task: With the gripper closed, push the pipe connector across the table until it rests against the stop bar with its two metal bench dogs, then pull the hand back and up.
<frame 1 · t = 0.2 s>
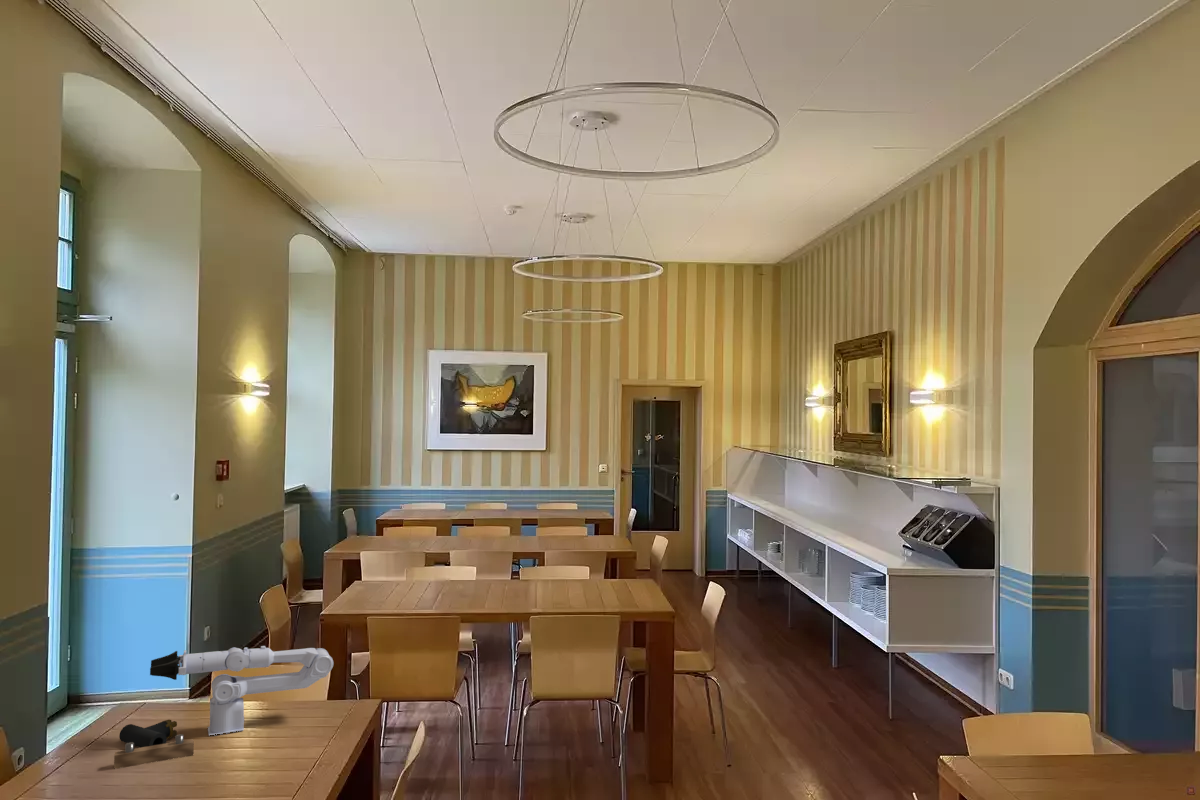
hand: (150, 667, 238), 21 cm above the table, tool horizontal, fingers open, 7 cm apart
pipe connector: (153, 743, 237), on the table
stop bar: (154, 760, 223), on the table
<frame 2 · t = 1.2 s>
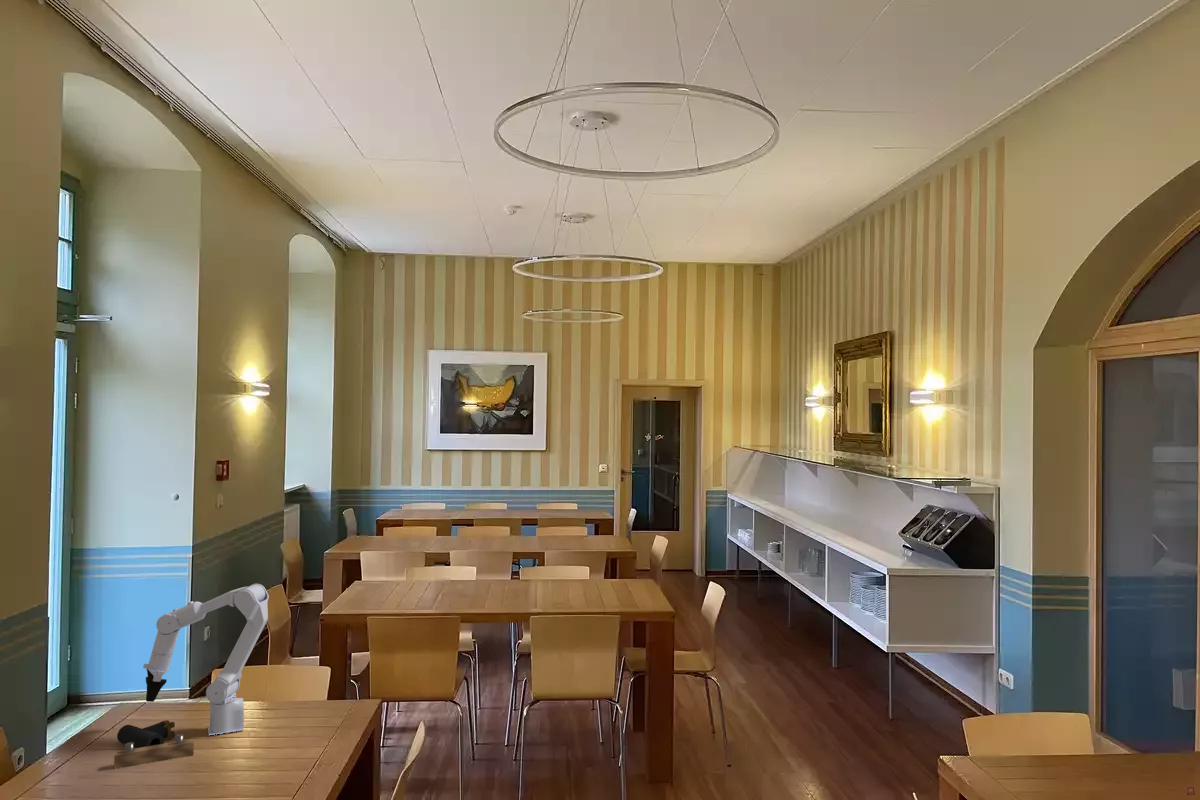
hand: (150, 695, 246), 10 cm above the table, tool tilted 15°, fingers open, 7 cm apart
nothing on the table moved.
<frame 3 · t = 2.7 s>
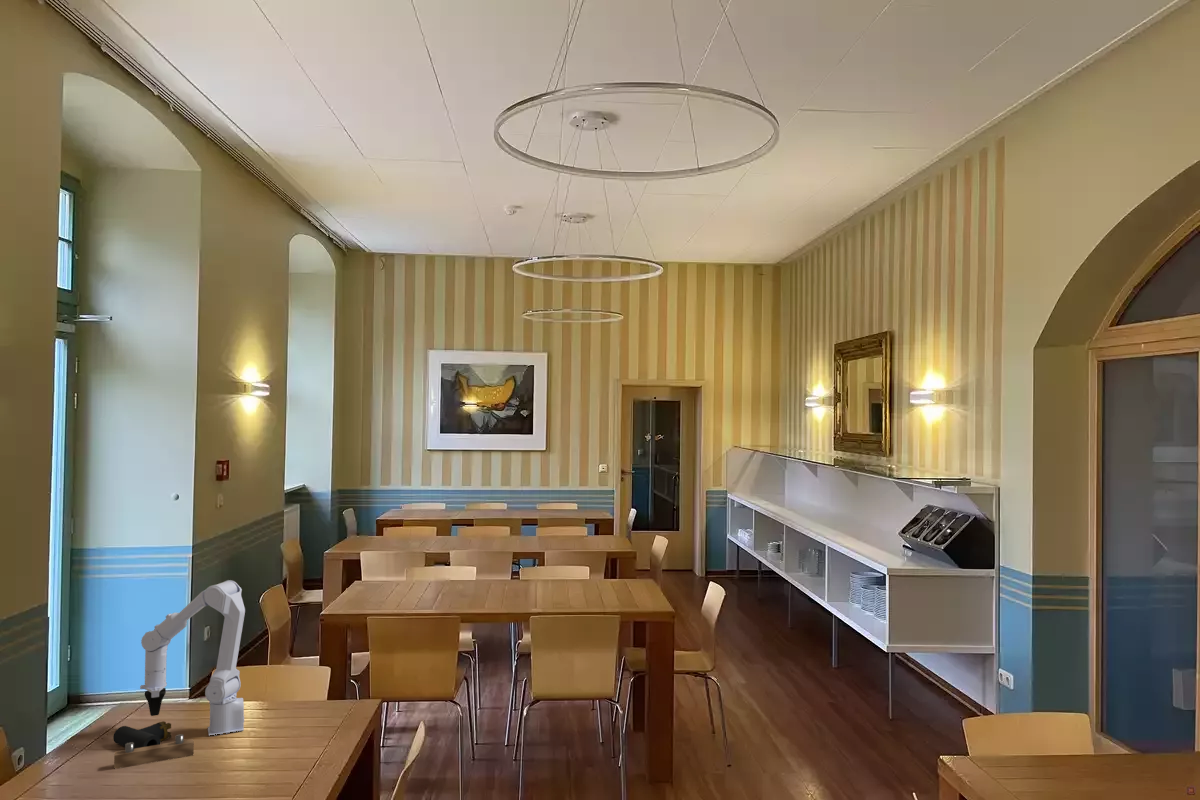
hand: (154, 714, 248), 4 cm above the table, tool pointing down, fingers closed
pipe connector: (147, 745, 235), on the table
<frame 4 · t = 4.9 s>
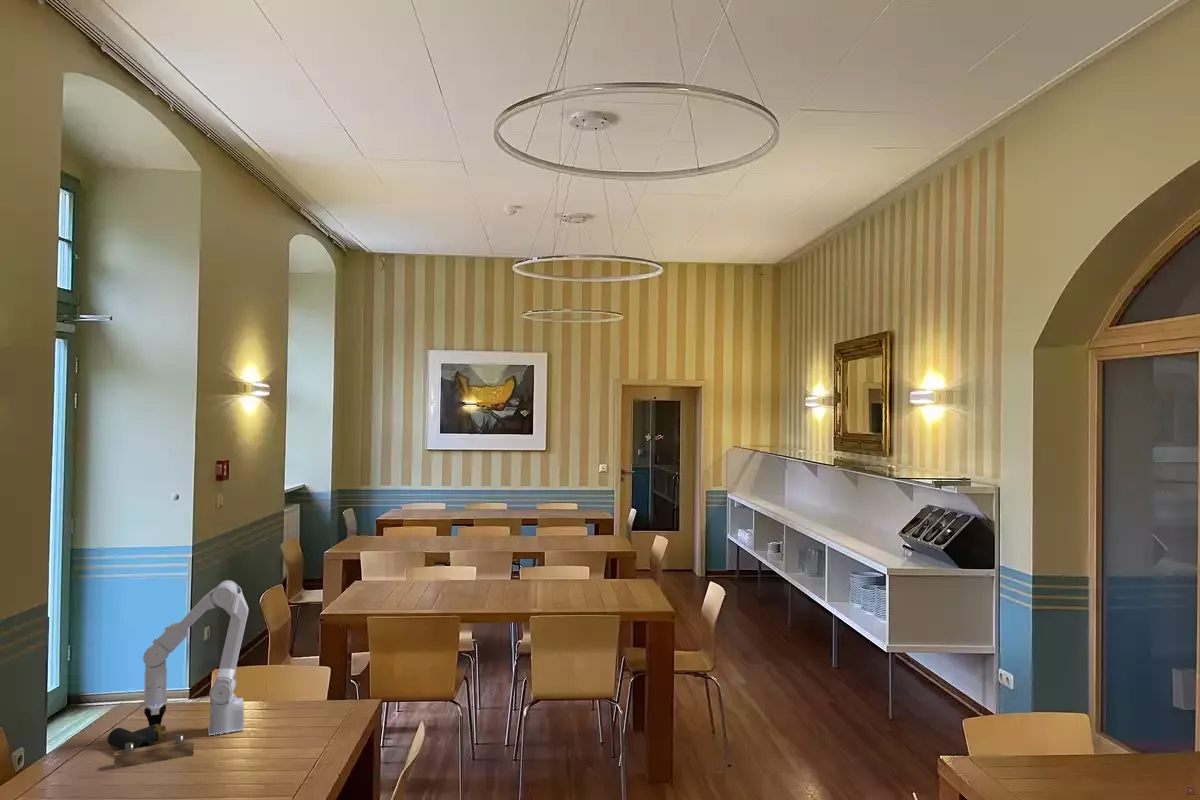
hand: (154, 732, 240), 1 cm above the table, tool pointing down, fingers closed
pipe connector: (141, 748, 233), on the table, touching gripper
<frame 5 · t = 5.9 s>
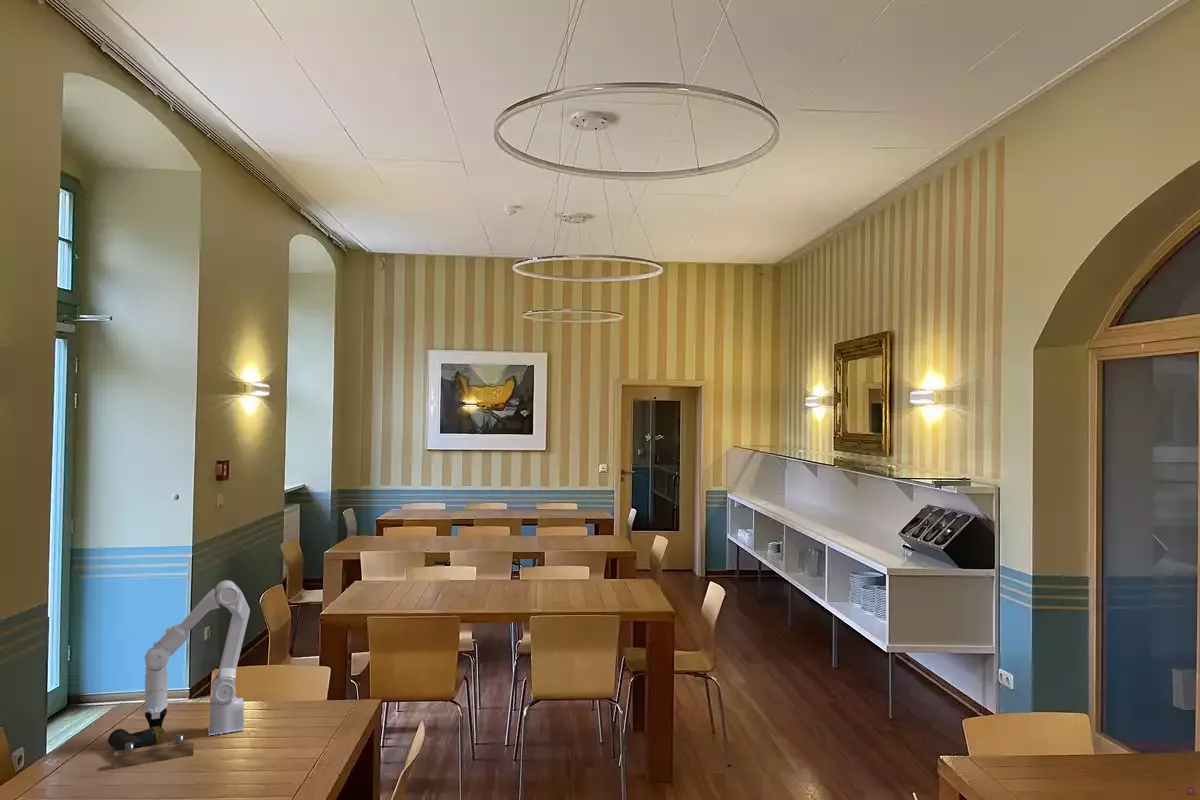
hand: (155, 736, 237), 1 cm above the table, tool pointing down, fingers closed, pressing on pipe connector
pipe connector: (139, 750, 231), on the table, touching gripper, stop bar
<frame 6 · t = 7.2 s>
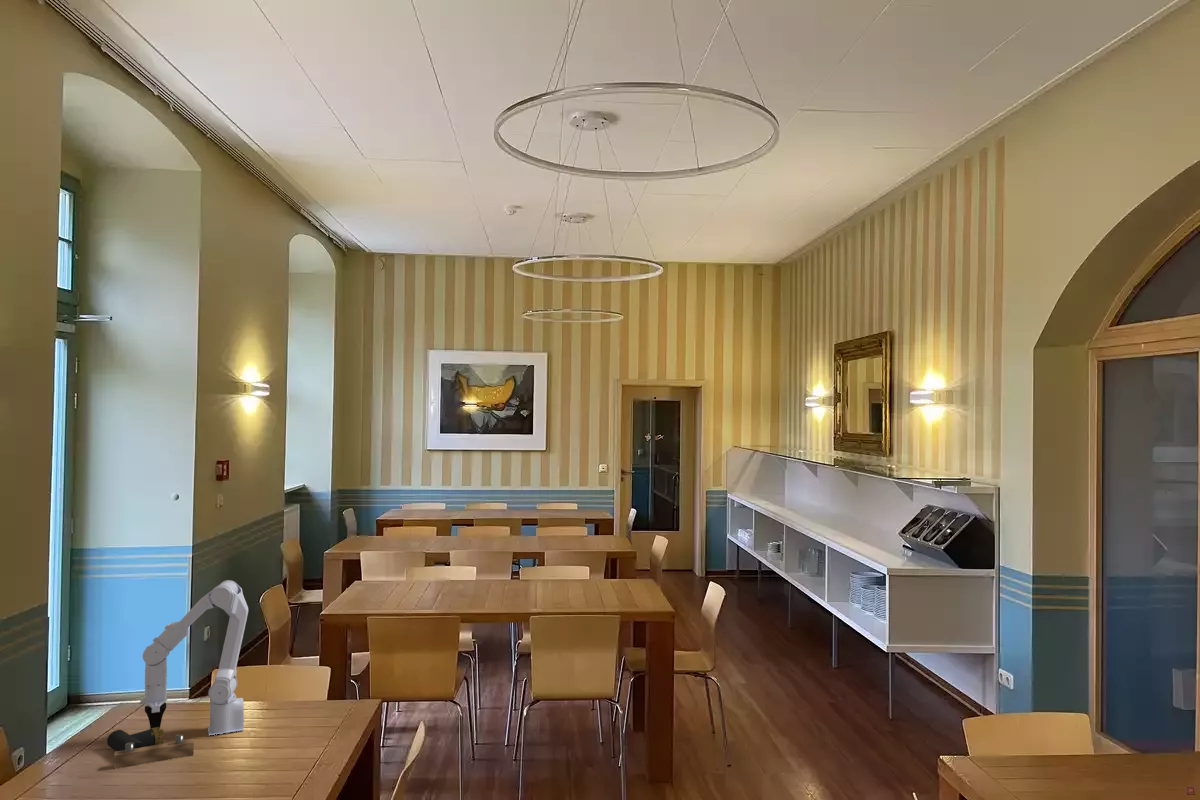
hand: (155, 730, 242), 2 cm above the table, tool pointing down, fingers closed
pipe connector: (139, 751, 231), on the table
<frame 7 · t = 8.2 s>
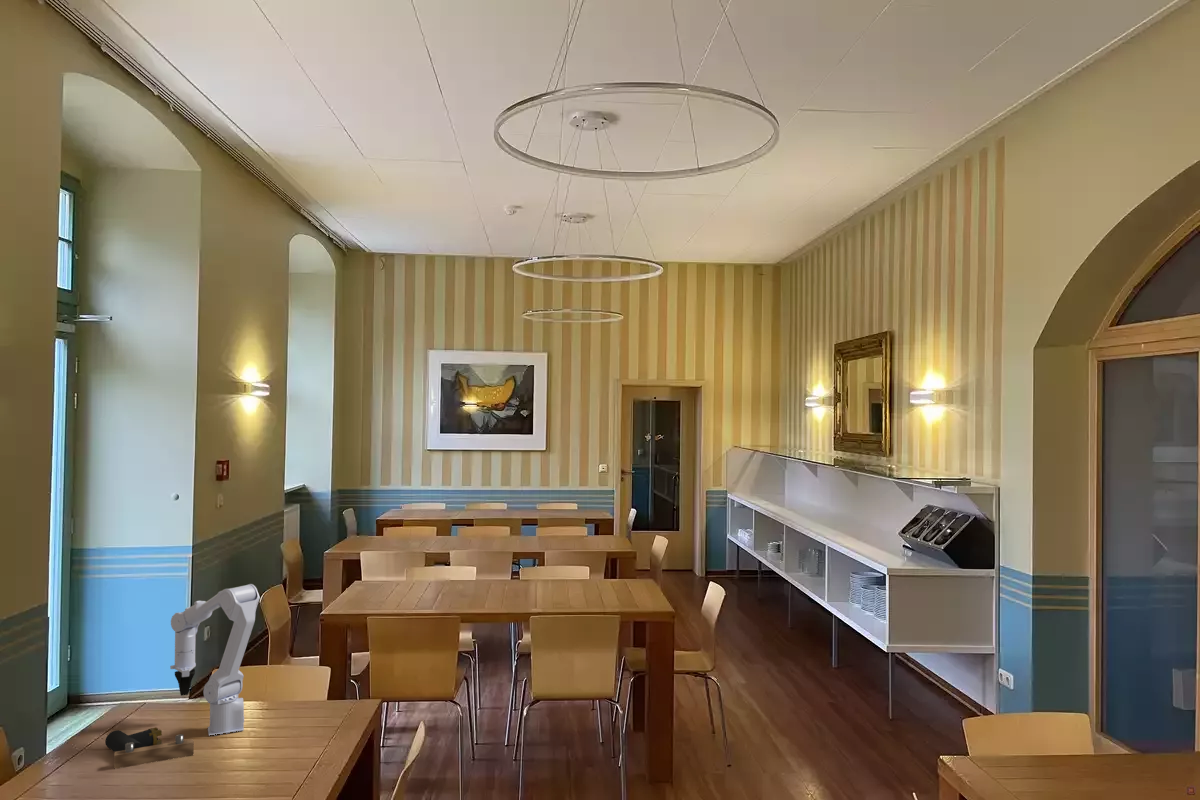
hand: (184, 694, 253), 8 cm above the table, tool pointing down, fingers closed
nothing on the table moved.
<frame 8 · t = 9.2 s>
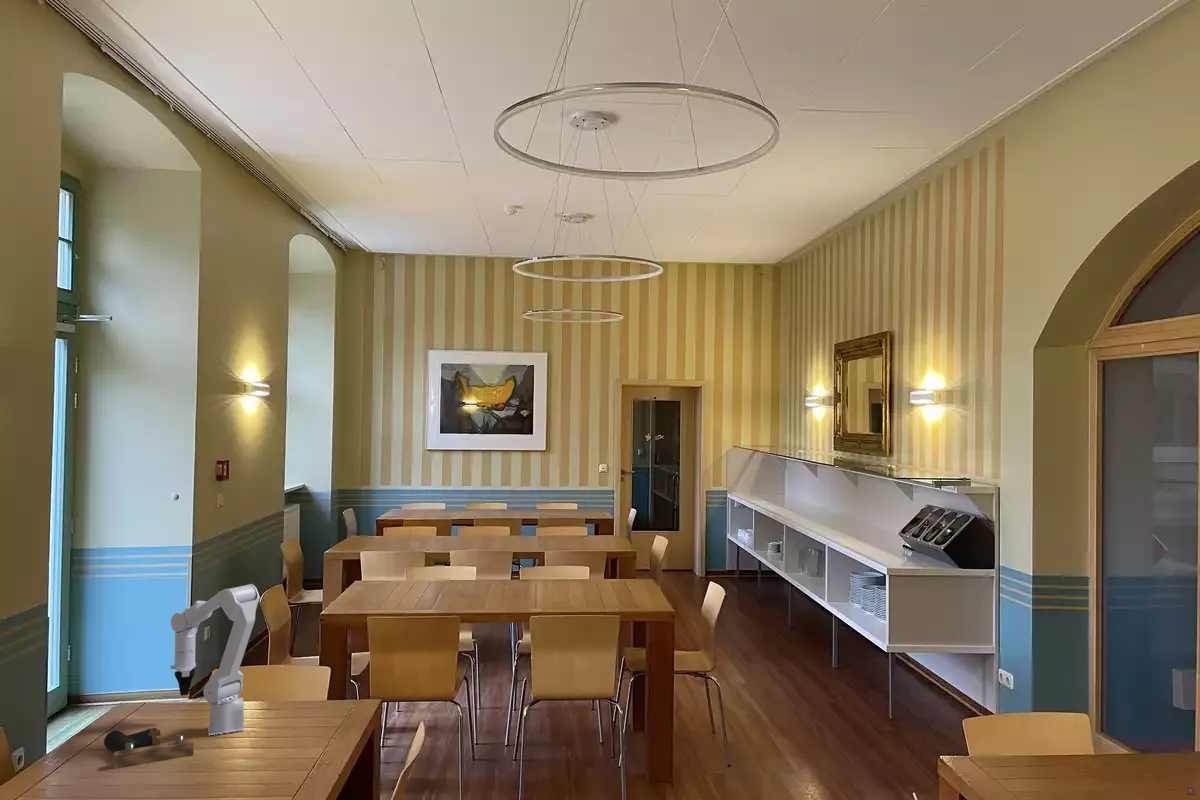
hand: (184, 694, 253), 8 cm above the table, tool pointing down, fingers closed
nothing on the table moved.
at the end: pipe connector inside the target area on the table beside the stop bar (4.9 cm from its centre), on the table; pipe connector moved 6.9 cm from its start; the gripper is holding nothing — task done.
